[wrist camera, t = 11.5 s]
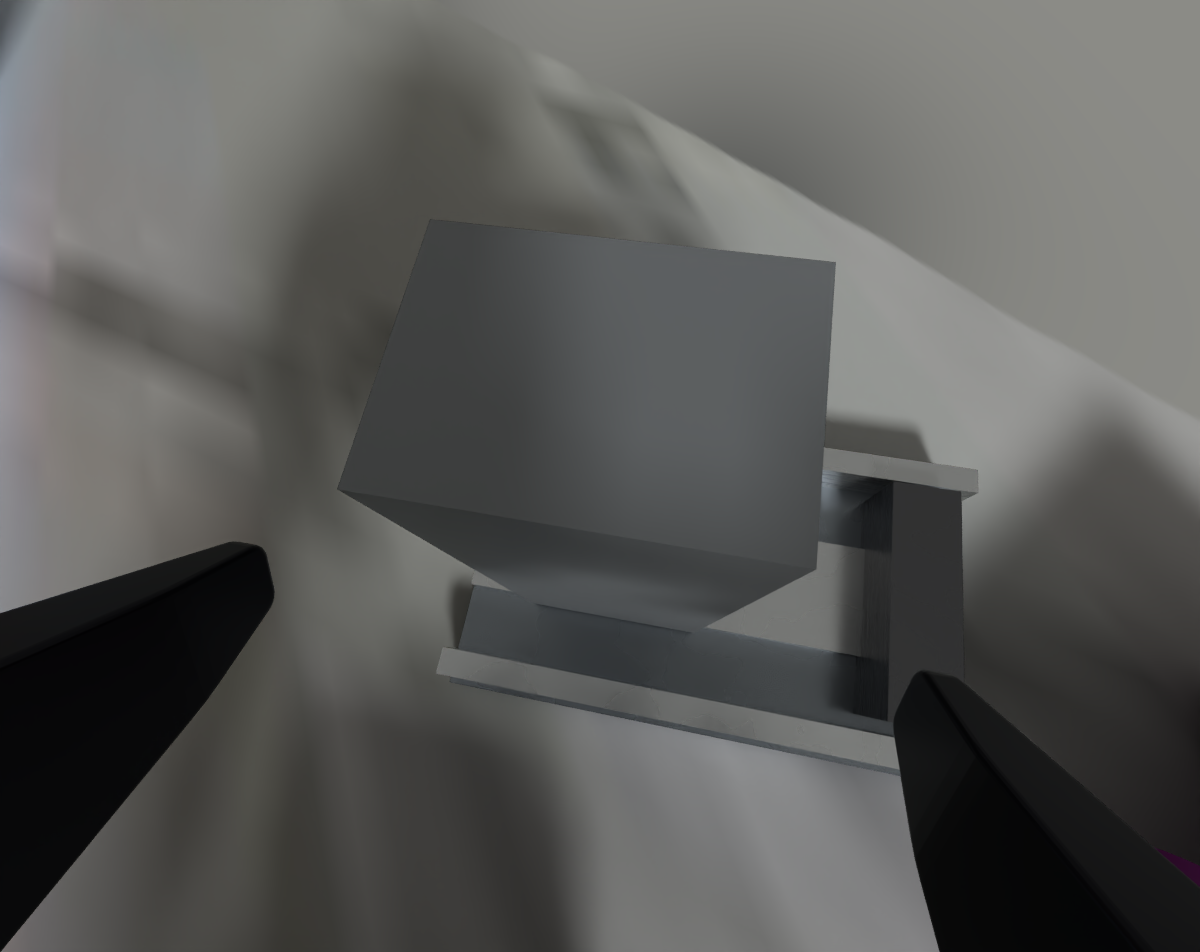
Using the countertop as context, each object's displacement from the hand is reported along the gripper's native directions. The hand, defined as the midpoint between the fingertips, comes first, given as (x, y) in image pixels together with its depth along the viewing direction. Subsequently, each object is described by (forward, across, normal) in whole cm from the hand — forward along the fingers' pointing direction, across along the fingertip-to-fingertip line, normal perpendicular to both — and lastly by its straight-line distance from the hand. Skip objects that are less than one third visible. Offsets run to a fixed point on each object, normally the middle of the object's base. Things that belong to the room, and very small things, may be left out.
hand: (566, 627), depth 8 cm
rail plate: (+11, -3, +6) cm, 13 cm away
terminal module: (+10, 0, +6) cm, 12 cm away
